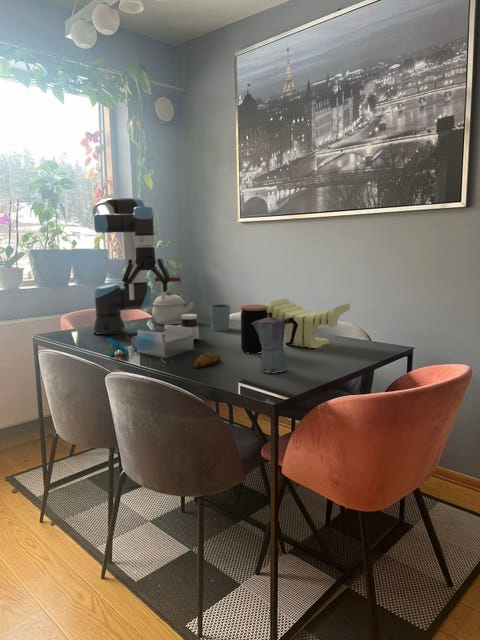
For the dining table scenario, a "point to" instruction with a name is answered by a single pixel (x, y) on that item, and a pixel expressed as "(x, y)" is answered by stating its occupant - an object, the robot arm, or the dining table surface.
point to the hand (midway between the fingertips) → (147, 299)
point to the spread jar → (191, 324)
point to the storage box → (164, 341)
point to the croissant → (206, 360)
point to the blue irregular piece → (116, 347)
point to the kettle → (170, 306)
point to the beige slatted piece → (305, 321)
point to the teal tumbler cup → (220, 317)
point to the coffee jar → (251, 327)
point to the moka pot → (273, 341)
